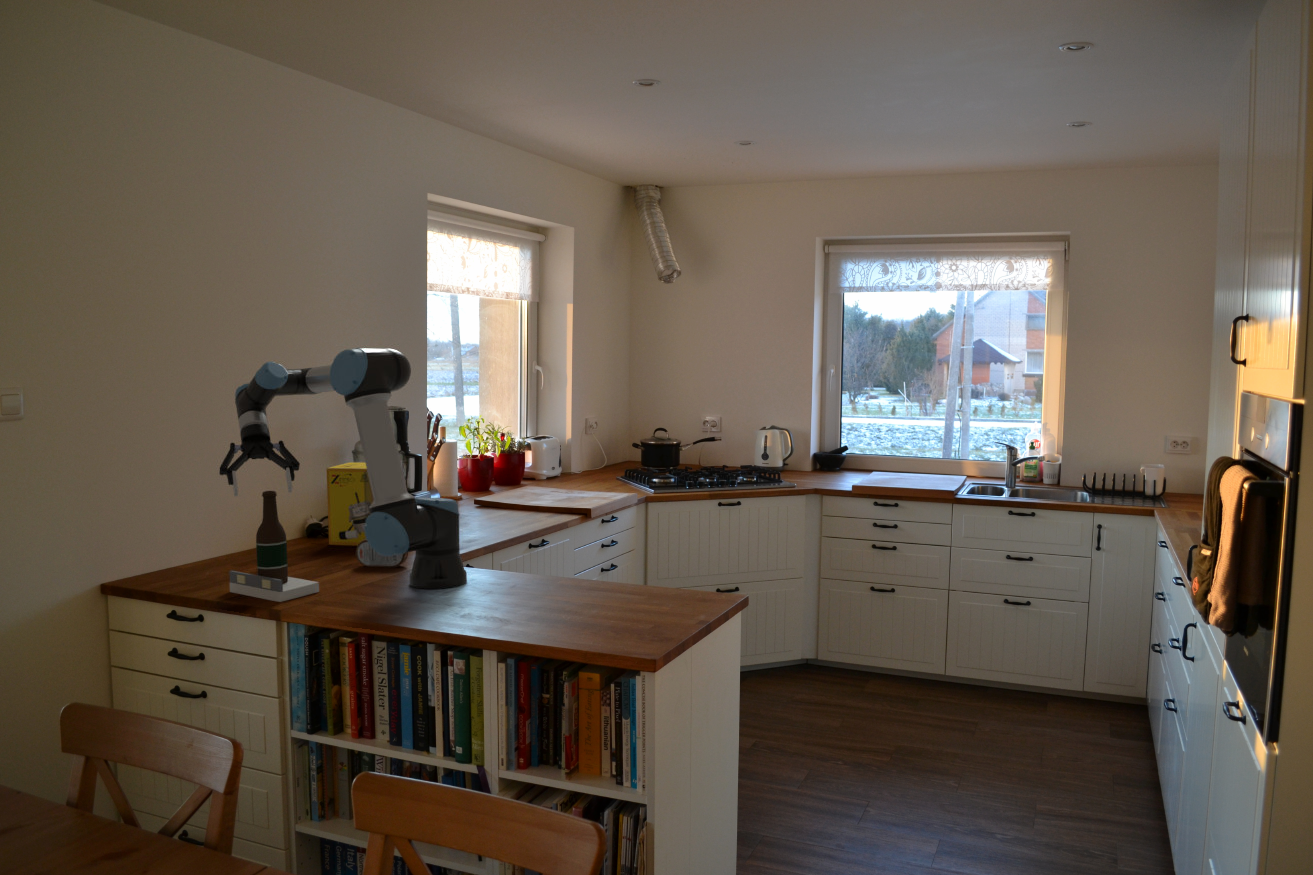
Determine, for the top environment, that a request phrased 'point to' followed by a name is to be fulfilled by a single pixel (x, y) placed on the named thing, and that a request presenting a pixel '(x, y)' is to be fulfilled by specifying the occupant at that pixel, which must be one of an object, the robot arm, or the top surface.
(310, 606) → the top surface
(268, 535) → the beer bottle
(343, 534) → the packaging box
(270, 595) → the grey slab
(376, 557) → the tin
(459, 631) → the top surface
